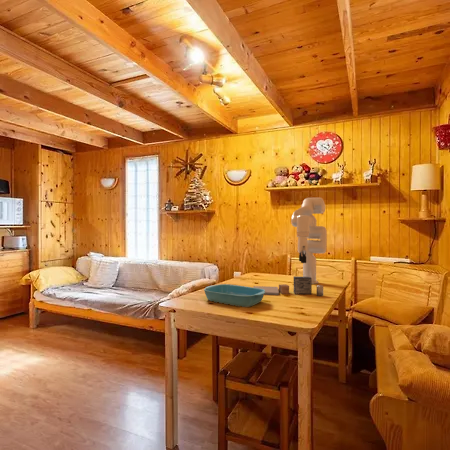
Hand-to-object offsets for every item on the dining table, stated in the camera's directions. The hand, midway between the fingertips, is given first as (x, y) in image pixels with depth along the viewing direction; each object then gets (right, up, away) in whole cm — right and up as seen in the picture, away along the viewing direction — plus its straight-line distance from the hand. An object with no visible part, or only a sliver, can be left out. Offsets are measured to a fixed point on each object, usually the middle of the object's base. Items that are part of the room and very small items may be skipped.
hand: (302, 262), depth 197 cm
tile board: (-23, -20, +5) cm, 30 cm away
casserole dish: (-44, -20, -20) cm, 52 cm away
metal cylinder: (+10, -20, -5) cm, 23 cm away
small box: (0, -20, +1) cm, 20 cm away
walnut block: (-11, -20, +2) cm, 23 cm away
